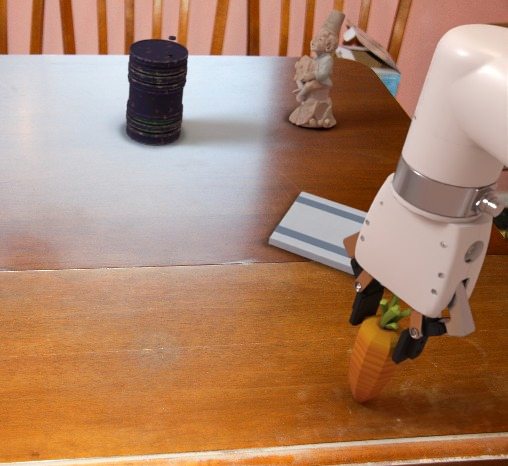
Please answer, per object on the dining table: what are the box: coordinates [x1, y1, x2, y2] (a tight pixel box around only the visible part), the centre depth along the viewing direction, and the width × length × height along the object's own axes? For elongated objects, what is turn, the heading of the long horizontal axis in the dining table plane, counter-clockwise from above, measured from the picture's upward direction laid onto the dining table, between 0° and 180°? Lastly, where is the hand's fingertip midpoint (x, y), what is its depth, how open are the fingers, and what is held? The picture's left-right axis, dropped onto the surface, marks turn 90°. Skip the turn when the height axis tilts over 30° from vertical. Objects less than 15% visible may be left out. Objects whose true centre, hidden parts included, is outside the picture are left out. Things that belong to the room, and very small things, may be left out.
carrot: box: [348, 292, 411, 404], centre depth 66 cm, size 5×5×15 cm
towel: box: [268, 191, 385, 287], centre depth 92 cm, size 20×14×1 cm
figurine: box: [288, 9, 346, 128], centre depth 116 cm, size 9×8×20 cm
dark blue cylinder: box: [125, 35, 189, 146], centre depth 110 cm, size 10×10×18 cm
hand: (382, 336), depth 64 cm, fingers closed on carrot, 4 cm apart
